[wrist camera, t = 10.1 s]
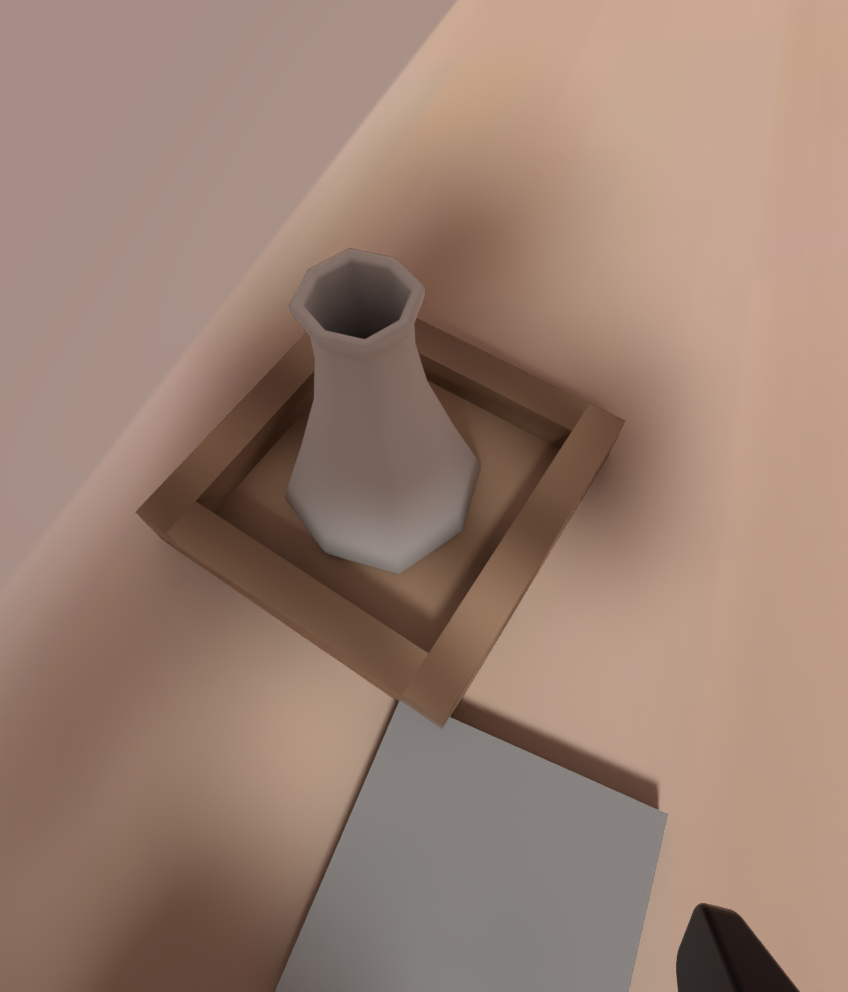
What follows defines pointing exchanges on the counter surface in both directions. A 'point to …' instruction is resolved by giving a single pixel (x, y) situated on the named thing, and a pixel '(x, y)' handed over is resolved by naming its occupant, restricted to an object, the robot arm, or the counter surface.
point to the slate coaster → (478, 874)
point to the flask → (374, 421)
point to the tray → (432, 580)
